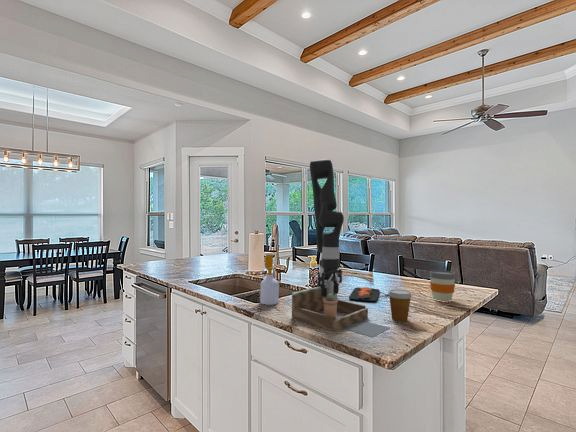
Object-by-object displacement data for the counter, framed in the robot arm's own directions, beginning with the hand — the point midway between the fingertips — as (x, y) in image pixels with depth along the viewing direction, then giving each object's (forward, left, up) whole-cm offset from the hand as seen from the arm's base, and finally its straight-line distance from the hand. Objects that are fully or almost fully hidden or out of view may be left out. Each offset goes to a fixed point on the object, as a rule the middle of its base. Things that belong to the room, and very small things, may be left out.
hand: (330, 294), depth 137 cm
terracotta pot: (0, 0, -10) cm, 10 cm away
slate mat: (0, +18, -10) cm, 21 cm away
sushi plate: (-50, -3, -11) cm, 51 cm away
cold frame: (0, 0, -10) cm, 10 cm away
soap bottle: (+2, -36, -10) cm, 37 cm away
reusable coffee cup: (-68, +24, -10) cm, 73 cm away
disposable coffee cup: (-20, +22, -10) cm, 32 cm away
